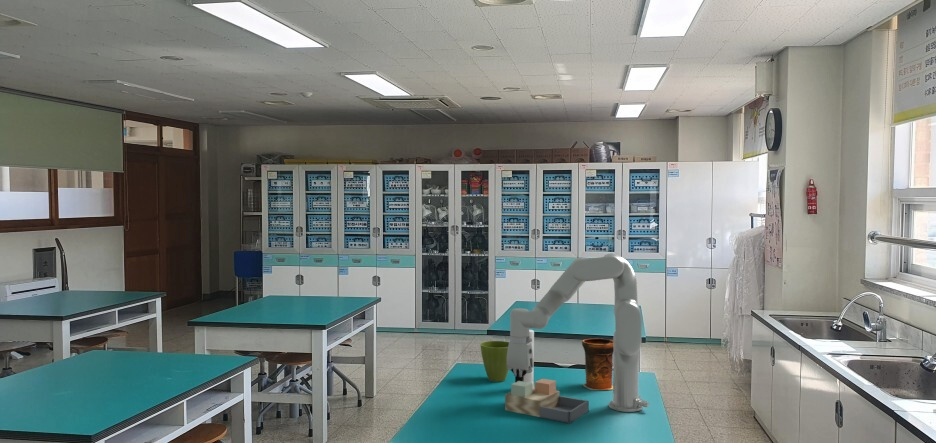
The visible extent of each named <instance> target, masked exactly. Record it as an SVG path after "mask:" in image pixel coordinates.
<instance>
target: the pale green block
mask: <svg viewBox="0 0 936 443" xmlns="http://www.w3.org/2000/svg"><path fill="white" fill-rule="evenodd" d="M510 385H511V386H510V392H511V395H515V396H521V397H527V396H529V395H531V394H533V383H529V382H523V381H517V382H515V381H514V382H513V383H511V384H510Z"/></svg>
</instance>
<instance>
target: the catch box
mask: <svg viewBox="0 0 936 443" xmlns="http://www.w3.org/2000/svg"><path fill="white" fill-rule="evenodd" d="M589 402H590V400H586V399H580V398H574V397H569V396H563V395H559V406H557V407H555V408H554V409H553V408H547V407H542V406H540V417H539V418H541V419H545V420H551V421H555V422H560V423H565V424H571V423H573V422H575V421H576V420H578V419H580V418H581V417H582V416H584V415H585V414H587V413H588V412H589V411H590V410H589V405H590V404H589Z"/></svg>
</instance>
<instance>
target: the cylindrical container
mask: <svg viewBox="0 0 936 443" xmlns="http://www.w3.org/2000/svg"><path fill="white" fill-rule="evenodd" d="M529 336H530V338H531V339H532V342H530V344H531V346H532V351H533V368H532V372H531V373H526V374H525V376H524V382H529V383H533V386H534V387H535V381H534V378H535V377H534V376H535V375H534V374H535V372H534V364H535V363H534V362H535V361H534V360H535V355H534V354H535V353H534V352H535V351H534V350H535V331H534V330H533V329H529ZM519 371H520V369H519Z"/></svg>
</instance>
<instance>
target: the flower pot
mask: <svg viewBox="0 0 936 443" xmlns="http://www.w3.org/2000/svg"><path fill="white" fill-rule="evenodd" d="M509 342H510V341H503V340H501V341H500V340H487V341H483V342H481V343H480V345H479V347H480V353H481V358H482V363H483V365H484V369H485V373H486V376H487V379H488V380H489V381H490V382H495V383H496V382H497V383H498V382H504V381H506V379H507V376H508V374H509V371H510V370H508V369H507V350H508V345H509Z"/></svg>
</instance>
